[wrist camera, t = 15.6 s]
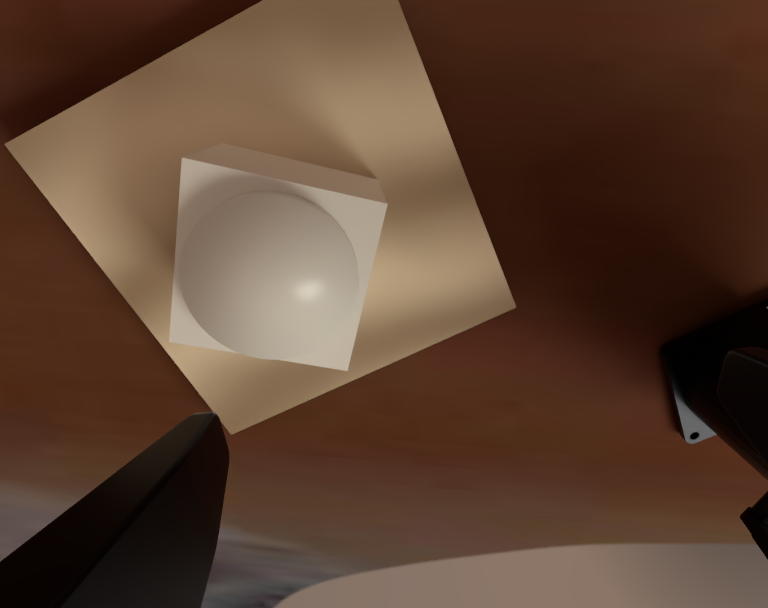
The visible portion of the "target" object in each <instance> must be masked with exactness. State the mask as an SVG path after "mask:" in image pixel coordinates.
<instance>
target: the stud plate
mask: <svg viewBox="0 0 768 608" xmlns="http://www.w3.org/2000/svg"><path fill="white" fill-rule="evenodd" d="M221 143H225V144H229V145H233V146H238V147H242V148H246V149H250V150H255V151H259V152H263V153H268V154H272V155H276V156H280V157H285V158H289V159H293V160H298V161H302V162H306V163H310V164H315V165H319V166H323V167H328V168H332V169H336V170H340V171H345V172H349V173H353V174H358V175H362V176H366V177H370V178H375V179H378V181H379V184H380V186H381V189H382V191H383V194H384V196H385V198H386V201H387V203H388V205H387V209H386V213H385V217H384V221H383V226H382V230H381V234H380V238H379V242H378V246H377V251H376V255H375V259H374V263H373V267H372V271H371V276H370V280H369V284H368V288H367V292H366V296H365V301H364V305H363V309H362V313H361V317H360V321H359V325H358V330H357V334H356V338H355V342H354V346H353V350H352V355H351V359H350V363H349V367H348V371H343V370H337V369H331V368H325V367H319V366H313V365H307V364H301V363H295V362H288V361H282V360H268V359H259V358H254V357H250V356H246V355H243V354H239V353H233V352H227V351H221V350H215V349H209V348H203V347H197V346H191V345H184V344H178V343H172V342H169V335H170V320H171V306H172V291H173V277H174V263H175V248H176V234H177V219H178V205H179V190H180V176H181V161H182V157H184V156H187V155H190V154H193V153H196V152H199V151H202V150H204V149H207V148H210V147H213V146H216V145H219V144H221ZM4 145H5V146H6V147H7V149H8V150H9V151H10V152H11V154H12V155H13V156H14V157H15V159H16V160H17V161H18V163H19V164H20V165H21V166H22V168H23V169H24V170H25V172H26V173H27V174H28V175H29V177H30V178H31V179H32V180H33V182H34V183H35V184H36V186H37V187H38V188H39V189H40V191H41V192H42V193H43V195H44V196H45V197H46V198H47V200H48V201H49V202H50V203H51V205H52V206H53V207H54V209H55V210H56V211H57V212H58V214H59V215H60V216H61V218H62V219H63V220H64V221H65V223H66V224H67V225H68V226H69V228H70V229H71V230H72V232H73V233H74V234H75V235H76V237H77V238H78V239H79V241H80V242H81V243H82V244H83V246H84V247H85V248H86V249H87V251H88V252H89V253H90V255H91V256H92V257H93V258H94V260H95V261H96V262H97V264H98V265H99V266H100V267H101V269H102V270H103V271H104V272H105V274H106V275H107V276H108V278H109V279H110V280H111V281H112V283H113V284H114V285H115V287H116V288H117V289H118V290H119V292H120V293H121V294H122V295H123V297H124V298H125V299H126V301H127V302H128V303H129V304H130V306H131V307H132V308H133V310H134V311H135V312H136V313H137V315H138V316H139V317H140V318H141V320H142V321H143V322H144V324H145V325H146V326H147V327H148V329H149V330H150V331H151V333H152V334H153V335H154V336H155V338H156V339H157V340H158V341H159V343H160V344H161V345H162V347H163V348H164V349H165V350H166V352H167V353H168V354H169V356H170V357H171V358H172V359H173V361H174V362H175V363H176V364H177V366H178V367H179V368H180V370H181V371H182V372H183V373H184V375H185V376H186V377H187V379H188V380H189V381H190V382H191V384H192V385H193V386H194V387H195V389H196V390H197V391H198V393H199V394H200V395H201V396H202V398H203V399H204V400H205V402H206V403H207V404H208V405H209V407H210V408H211V409H212V411H213V412H215V413H216V414H217V415H218V416H219V418H220V421H221V422H222V423H223V425H224V426H225V427H226V428H227V430H228V431H229V432H230V434H231V435H232V434H234V433H236V432H239V431H241V430H243V429H245V428H247V427H250V426H252V425H254V424H256V423H259V422H261V421H263V420H265V419H268V418H270V417H272V416H274V415H277V414H279V413H281V412H283V411H286V410H288V409H290V408H292V407H294V406H297V405H299V404H301V403H303V402H306V401H308V400H310V399H312V398H315V397H317V396H319V395H321V394H324V393H326V392H328V391H330V390H333V389H335V388H337V387H339V386H342V385H344V384H346V383H348V382H350V381H353V380H355V379H357V378H359V377H362V376H364V375H366V374H368V373H371V372H373V371H375V370H377V369H380V368H382V367H384V366H386V365H389V364H391V363H393V362H395V361H397V360H400V359H402V358H404V357H406V356H409V355H411V354H413V353H415V352H418V351H420V350H422V349H424V348H427V347H429V346H431V345H433V344H436V343H438V342H440V341H442V340H444V339H447V338H449V337H451V336H453V335H456V334H458V333H460V332H462V331H465V330H467V329H469V328H471V327H474V326H476V325H478V324H480V323H483V322H485V321H487V320H489V319H492V318H494V317H496V316H498V315H500V314H503V313H505V312H507V311H509V310H512V309H514V308H516V305H515V302H514V300H513V297H512V295H511V292H510V289H509V287H508V284H507V282H506V279H505V276H504V274H503V271H502V269H501V266H500V263H499V261H498V258H497V256H496V253H495V250H494V248H493V245H492V243H491V240H490V237H489V235H488V232H487V230H486V227H485V224H484V222H483V219H482V217H481V214H480V211H479V209H478V206H477V204H476V201H475V198H474V196H473V193H472V191H471V188H470V185H469V183H468V180H467V178H466V175H465V173H464V170H463V167H462V165H461V162H460V160H459V157H458V154H457V152H456V149H455V147H454V144H453V141H452V139H451V136H450V134H449V131H448V128H447V126H446V123H445V121H444V118H443V115H442V113H441V110H440V108H439V105H438V102H437V100H436V97H435V95H434V92H433V89H432V87H431V84H430V82H429V79H428V76H427V74H426V71H425V69H424V66H423V63H422V61H421V58H420V56H419V53H418V50H417V48H416V45H415V43H414V40H413V37H412V35H411V32H410V30H409V27H408V24H407V22H406V19H405V17H404V14H403V11H402V9H401V6H400V4H399V1H398V0H262V1H260V2H259V3H257V4H255V5H253V6H251V7H250V8H248V9H246V10H244V11H242V12H241V13H239V14H237V15H235V16H234V17H232V18H230V19H228V20H226V21H225V22H223V23H221V24H219V25H217V26H216V27H214V28H212V29H210V30H208V31H207V32H205V33H203V34H201V35H199V36H198V37H196V38H194V39H192V40H190V41H189V42H187V43H185V44H183V45H181V46H180V47H178V48H176V49H174V50H173V51H171V52H169V53H167V54H165V55H164V56H162V57H160V58H158V59H156V60H155V61H153V62H151V63H149V64H147V65H146V66H144V67H142V68H140V69H138V70H137V71H135V72H133V73H131V74H129V75H128V76H126V77H124V78H122V79H120V80H119V81H117V82H115V83H113V84H112V85H110V86H108V87H106V88H104V89H103V90H101V91H99V92H97V93H95V94H94V95H92V96H90V97H88V98H86V99H85V100H83V101H81V102H79V103H77V104H76V105H74V106H72V107H70V108H68V109H67V110H65V111H63V112H61V113H60V114H58V115H56V116H54V117H52V118H51V119H49V120H47V121H45V122H43V123H42V124H40V125H38V126H36V127H34V128H33V129H31V130H29V131H27V132H25V133H24V134H22V135H20V136H18V137H16V138H15V139H13V140H11V141H9V142H7V143H6V144H4Z"/></svg>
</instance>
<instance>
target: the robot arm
mask: <svg viewBox="0 0 768 608" xmlns="http://www.w3.org/2000/svg"><path fill="white" fill-rule="evenodd" d="M674 350H675V352H674V353H673V354H671V353H672V352H673V351H674ZM660 355H661V359H662V363H663V367H664V371H665V375H666V379H667V383H668V387H669V391H670V395H671V399H672V403H673V407H674V411H675V415H676V419H677V423H678V427H679V431H680V435H681V437H682V438H683V439H684V440H685V441H686V442H688V443H696V442H699V441H701V440H704V439H706V438H709V437H711V436H714V435H718V436H719V437H720V438H721V439H722V440H723V441H725V442H726V443H727V444H728V445H729V446H730V447H731V448H732V449H733V450H735V451H736V452H737V453H738V454H739V455H740V456H741V457H742V458H743V459H745V460H746V461H747V462H748V463H749V464H750V465H751V466H752V467H753V468H755V469H756V470H757V471H758V472H759V473H760V474H761V475H762V476H763V477H765V478H766V479H767V480H768V300H767V301H765V302H762V303H760V304H758V305H755V306H753V307H751V308H748V309H746V310H743V311H741V312H739V313H736V314H734V315H732V316H729V317H727V318H724V319H722V320H720V321H717V322H715V323H713V324H710V325H708V326H706V327H703V328H701V329H698V330H696V331H694V332H691V333H689V334H687V335H684V336H682V337H679V338H677V339H675V340H672V341H670V342H668V343H666V344H665V345H664V346H663V347H662V349H661V351H660ZM228 467H229V450H228V446H227V442H226V439H225V435H224V432H223V428H222V425H221V421H220V418H219V416H218V415H217V414H216V413H215V412H205V413H197V414H192V415H190V416H188V417H187V418H186V419H184V420H183V421H182V422H180V423H179V424H178V425H177V426H175V427H174V428H173V429H171V430H170V431H169V432H168V433H166V434H165V435H164V436H162V437H161V438H160V439H158V440H157V441H156V442H155V443H153V444H152V445H151V446H149V447H148V448H147V449H146V450H144V451H143V452H142V453H140V454H139V455H138V456H136V457H135V458H134V459H133V460H131V461H130V462H129V463H127V464H126V465H125V466H124V467H122V468H121V469H120V470H118V471H117V472H116V473H114V474H113V475H112V476H111V477H109V478H108V479H107V480H105V481H104V482H103V483H102V484H100V485H99V486H98V487H96V488H95V489H94V490H92V491H91V492H90V493H89V494H87V495H86V496H85V497H83V498H82V499H81V500H80V501H78V502H77V503H76V504H74V505H73V506H72V507H70V508H69V509H68V510H67V511H65V512H64V513H63V514H61V515H60V516H59V517H58V518H56V519H55V520H54V521H52V522H51V523H50V524H48V525H47V526H46V527H45V528H43V529H42V530H41V531H39V532H38V533H37V534H35V535H34V536H33V537H32V538H30V539H29V540H28V541H26V542H25V543H24V544H23V545H21V546H20V547H19V548H17V549H16V550H15V551H13V552H12V553H11V554H10V555H8V556H7V557H6V558H4V559H3V560H2V561H1V562H0V608H201V605H202V601H203V598H204V594H205V590H206V586H207V583H208V579H209V575H210V571H211V567H212V564H213V559H214V555H215V551H216V546H217V540H218V535H219V528H220V521H221V514H222V508H223V501H224V494H225V487H226V481H227V474H228ZM740 518H741V520H742V521H743V523H744V524H745V525H746V527H747V528H748V530H749V531H750V533H751V534H752V537H753V539H754V540H755V542H756V543H757V545H758V546H759V548H760V549H761V550H762V552H763V553H764V555H765V556H766V558H767V559H768V491H767V492H766V493H765V494H764V495H763V496H762V497H761V498H760V499H759V501H758V502H757V503H756V504H755V505H754V506H753V507H752V508H751V507H748V508H747V509H746V510H745V511H744V512H743V513H742V514H741V515H740Z"/></svg>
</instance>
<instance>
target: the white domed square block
mask: <svg viewBox="0 0 768 608" xmlns="http://www.w3.org/2000/svg"><path fill="white" fill-rule="evenodd" d="M387 205H388V203H387V201H386V198H385V196H384V194H383V191H382V189H381V186H380V184H379V181H378V179H375V178H370V177H366V176H362V175H358V174H353V173H349V172H345V171H340V170H336V169H332V168H328V167H323V166H319V165H315V164H310V163H306V162H302V161H298V160H293V159H289V158H285V157H280V156H276V155H272V154H268V153H263V152H259V151H255V150H250V149H246V148H242V147H238V146H233V145H229V144H225V143H221V144H219V145H216V146H213V147H210V148H207V149H204V150H202V151H199V152H196V153H193V154H190V155H187V156H184V157H182V161H181V176H180V190H179V205H178V219H177V234H176V248H175V263H174V277H173V291H172V306H171V320H170V335H169V342H172V343H178V344H184V345H191V346H197V347H203V348H209V349H215V350H221V351H227V352H233V353H239V354H243V355H246V356H250V357H254V358H259V359H268V360H282V361H288V362H295V363H301V364H307V365H313V366H319V367H325V368H331V369H337V370H343V371H348V367H349V363H350V359H351V355H352V350H353V346H354V342H355V338H356V334H357V330H358V325H359V321H360V317H361V313H362V309H363V305H364V301H365V296H366V292H367V288H368V284H369V280H370V276H371V271H372V267H373V263H374V259H375V255H376V251H377V246H378V242H379V238H380V234H381V230H382V226H383V221H384V217H385V213H386V209H387Z"/></svg>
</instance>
